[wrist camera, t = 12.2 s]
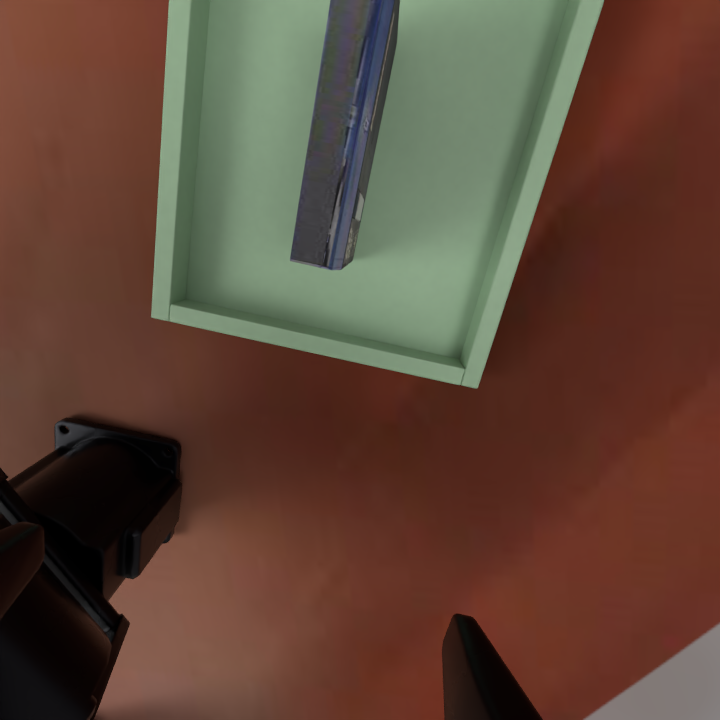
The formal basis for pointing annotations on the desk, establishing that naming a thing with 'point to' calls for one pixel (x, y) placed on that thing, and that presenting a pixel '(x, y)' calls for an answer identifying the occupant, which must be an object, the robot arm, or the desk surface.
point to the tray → (386, 184)
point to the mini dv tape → (344, 129)
